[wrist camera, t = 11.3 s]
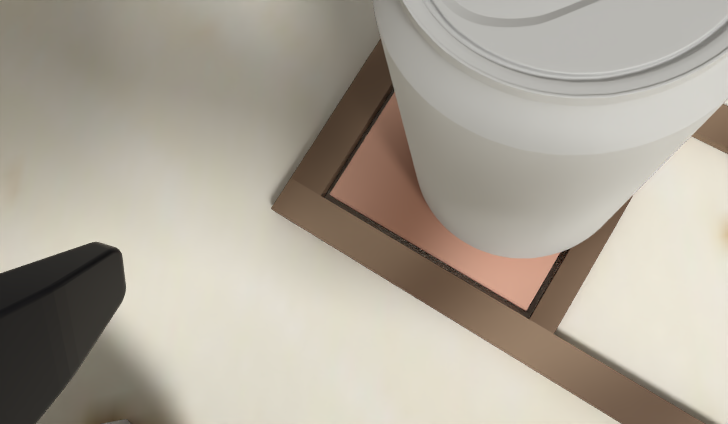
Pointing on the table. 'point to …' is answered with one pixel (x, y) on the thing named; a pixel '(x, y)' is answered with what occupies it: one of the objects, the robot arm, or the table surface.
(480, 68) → the beverage can
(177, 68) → the table surface
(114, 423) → the grey cube
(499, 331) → the brown divided frame
